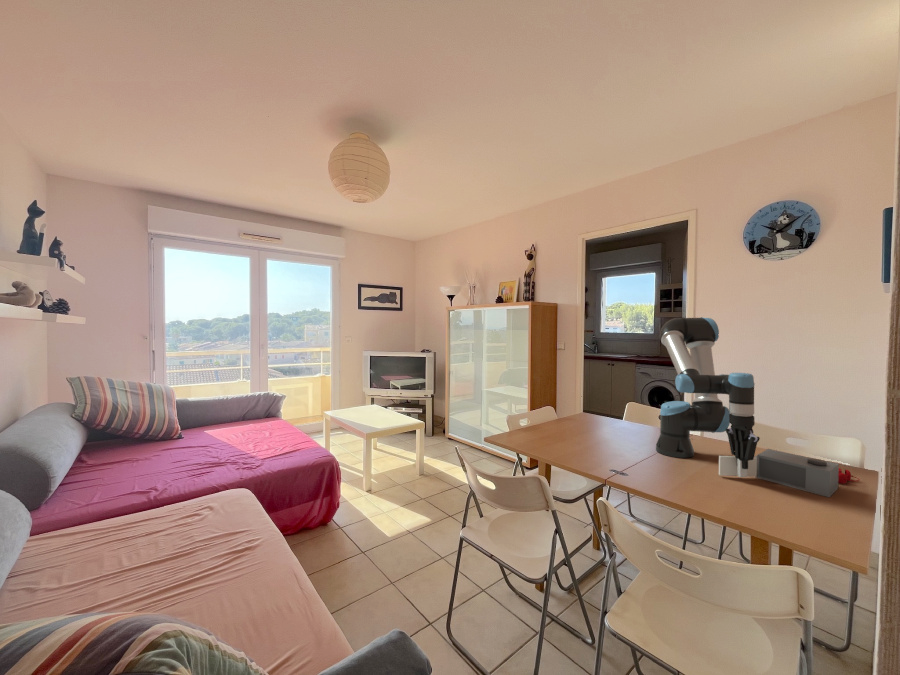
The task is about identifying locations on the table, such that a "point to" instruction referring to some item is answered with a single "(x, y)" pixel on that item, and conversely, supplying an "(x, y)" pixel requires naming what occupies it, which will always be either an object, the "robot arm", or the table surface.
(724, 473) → the door
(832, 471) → the case
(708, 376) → the robot arm
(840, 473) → the alarm clock
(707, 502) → the table surface
